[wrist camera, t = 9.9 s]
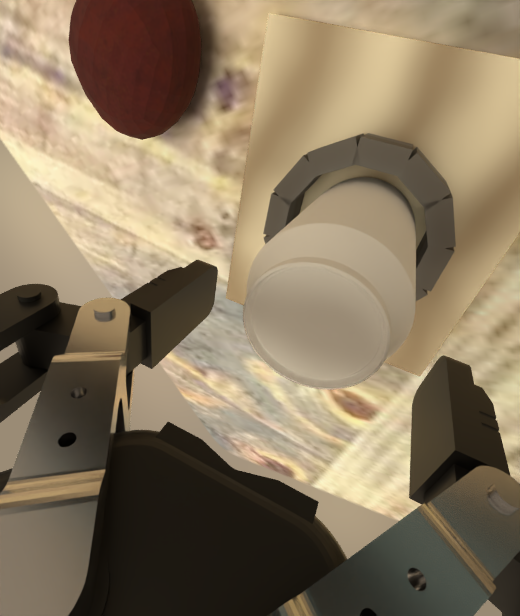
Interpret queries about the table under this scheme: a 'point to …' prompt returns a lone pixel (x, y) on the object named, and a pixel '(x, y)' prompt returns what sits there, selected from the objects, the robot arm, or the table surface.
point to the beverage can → (335, 286)
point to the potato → (137, 61)
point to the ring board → (388, 154)
